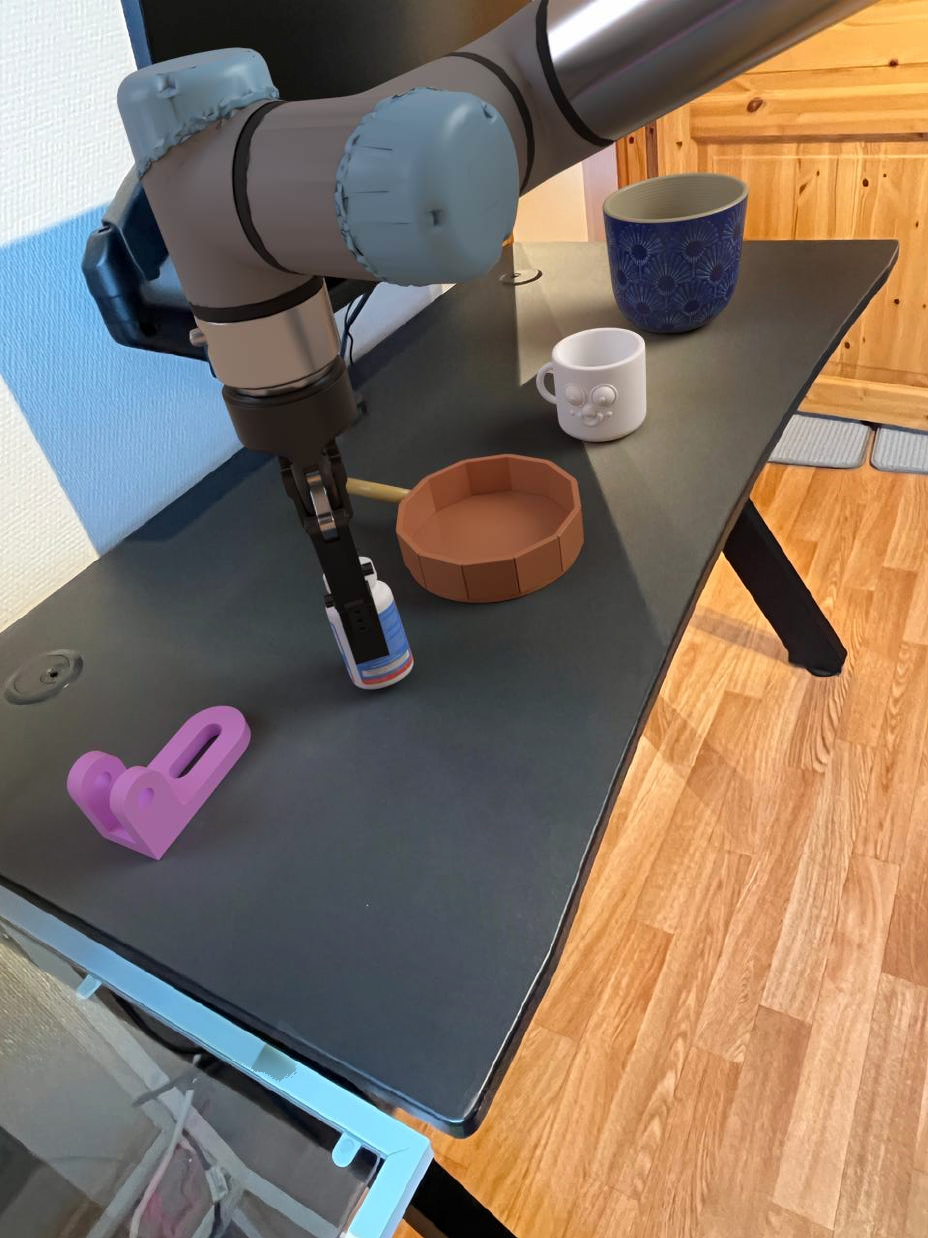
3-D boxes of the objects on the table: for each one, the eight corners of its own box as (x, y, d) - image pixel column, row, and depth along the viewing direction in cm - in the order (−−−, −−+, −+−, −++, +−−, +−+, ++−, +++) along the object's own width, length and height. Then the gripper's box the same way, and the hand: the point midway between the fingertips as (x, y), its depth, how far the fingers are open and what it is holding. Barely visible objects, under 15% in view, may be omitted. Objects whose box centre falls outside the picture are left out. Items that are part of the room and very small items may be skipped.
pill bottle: (427, 659, 70) (396, 555, 65) (386, 696, 66) (349, 589, 62) (380, 649, 73) (347, 549, 68) (338, 684, 70) (300, 581, 65)
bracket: (158, 860, 60) (115, 803, 55) (103, 837, 62) (57, 780, 58) (264, 726, 68) (234, 666, 63) (211, 710, 70) (179, 651, 66)
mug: (526, 447, 93) (516, 371, 87) (552, 400, 100) (544, 327, 94) (635, 452, 88) (632, 372, 82) (654, 403, 95) (653, 326, 89)
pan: (611, 510, 82) (609, 469, 79) (531, 622, 72) (525, 581, 69) (378, 465, 95) (369, 430, 92) (284, 555, 85) (270, 518, 82)
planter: (753, 292, 112) (761, 168, 102) (726, 351, 102) (732, 218, 92) (629, 291, 119) (625, 174, 109) (591, 345, 109) (583, 222, 99)
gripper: (215, 344, 54) (314, 617, 69) (222, 432, 44) (335, 727, 60) (328, 315, 55) (402, 592, 70) (359, 395, 45) (437, 696, 60)
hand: (371, 654), depth 65 cm, fingers closed
